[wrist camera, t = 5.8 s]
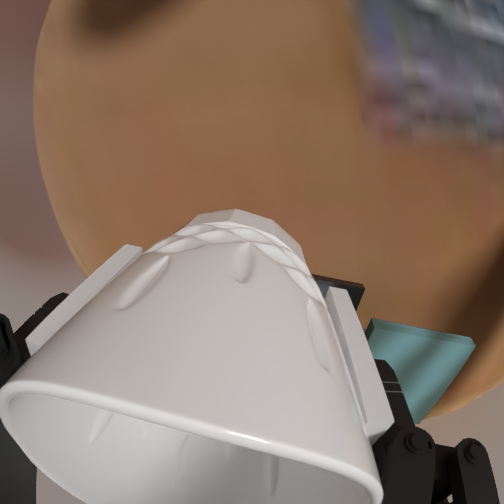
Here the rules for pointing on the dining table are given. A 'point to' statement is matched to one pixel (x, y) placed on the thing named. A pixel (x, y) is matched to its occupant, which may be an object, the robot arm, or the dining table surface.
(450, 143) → the dining table surface
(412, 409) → the balance beam
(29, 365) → the white cup
